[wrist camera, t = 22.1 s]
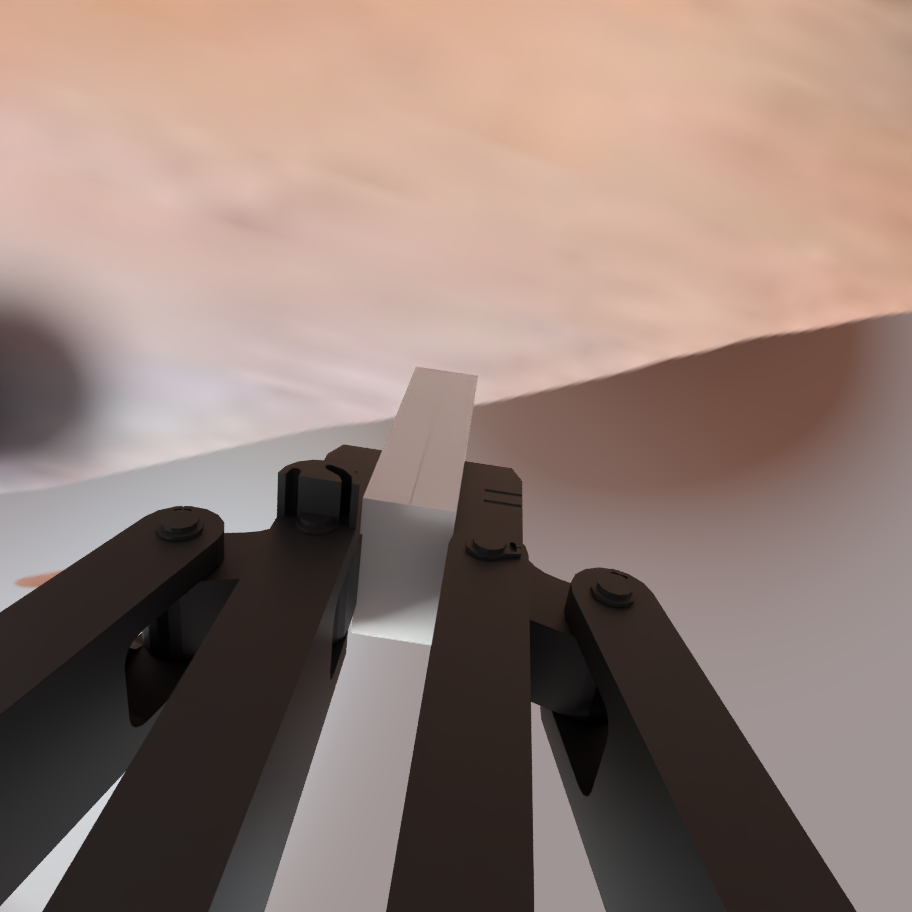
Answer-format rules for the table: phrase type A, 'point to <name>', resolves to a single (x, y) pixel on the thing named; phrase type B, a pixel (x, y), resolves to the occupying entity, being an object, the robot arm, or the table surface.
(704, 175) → the table surface
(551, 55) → the table surface
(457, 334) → the table surface
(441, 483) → the robot arm
